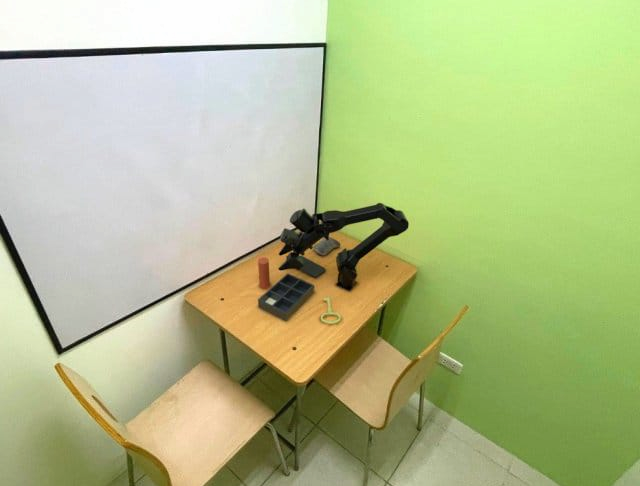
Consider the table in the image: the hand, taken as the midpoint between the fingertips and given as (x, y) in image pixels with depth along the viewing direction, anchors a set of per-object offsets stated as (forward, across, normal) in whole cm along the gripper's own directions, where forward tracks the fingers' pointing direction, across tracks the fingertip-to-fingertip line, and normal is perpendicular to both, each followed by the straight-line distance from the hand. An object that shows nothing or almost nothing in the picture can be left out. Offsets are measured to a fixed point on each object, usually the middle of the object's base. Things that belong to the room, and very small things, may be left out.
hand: (279, 262), depth 141 cm
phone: (0, -11, +16) cm, 20 cm away
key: (-5, +16, +22) cm, 27 cm away
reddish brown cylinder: (+12, 0, +4) cm, 13 cm away
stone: (-6, -25, +23) cm, 34 cm away
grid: (+6, +8, +10) cm, 15 cm away
